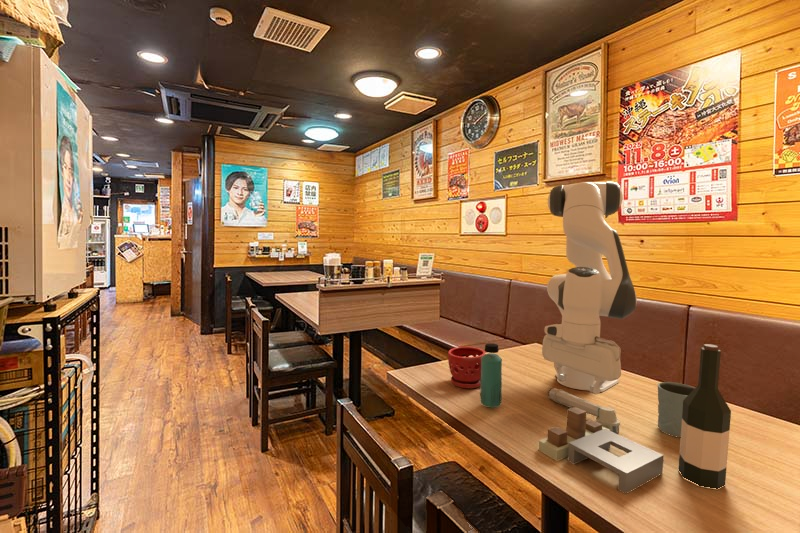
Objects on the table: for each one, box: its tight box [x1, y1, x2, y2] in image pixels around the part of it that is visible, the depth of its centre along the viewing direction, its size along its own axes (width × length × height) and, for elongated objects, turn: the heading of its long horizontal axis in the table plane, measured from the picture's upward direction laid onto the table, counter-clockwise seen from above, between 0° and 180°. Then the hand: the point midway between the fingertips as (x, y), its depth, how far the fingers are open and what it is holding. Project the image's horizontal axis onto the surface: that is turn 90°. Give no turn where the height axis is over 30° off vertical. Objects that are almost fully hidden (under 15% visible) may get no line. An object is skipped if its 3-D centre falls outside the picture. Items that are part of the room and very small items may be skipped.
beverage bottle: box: [479, 342, 503, 408], centre depth 124 cm, size 6×7×20 cm
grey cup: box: [657, 381, 696, 438], centre depth 111 cm, size 10×10×12 cm
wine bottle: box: [678, 343, 732, 490], centre depth 88 cm, size 8×8×30 cm
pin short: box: [586, 419, 602, 433], centre depth 107 cm, size 3×3×4 cm
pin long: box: [565, 407, 587, 440], centre depth 103 cm, size 3×3×9 cm
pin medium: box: [547, 426, 567, 448], centre depth 100 cm, size 3×3×6 cm
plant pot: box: [447, 346, 486, 390], centre depth 144 cm, size 13×13×12 cm
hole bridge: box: [567, 429, 664, 494], centre depth 93 cm, size 14×14×4 cm
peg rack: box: [538, 426, 610, 462], centre depth 103 cm, size 21×5×2 cm, turn 120°
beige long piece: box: [547, 387, 621, 434], centre depth 120 cm, size 5×7×25 cm
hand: (577, 386), depth 102 cm, fingers open, 8 cm apart
